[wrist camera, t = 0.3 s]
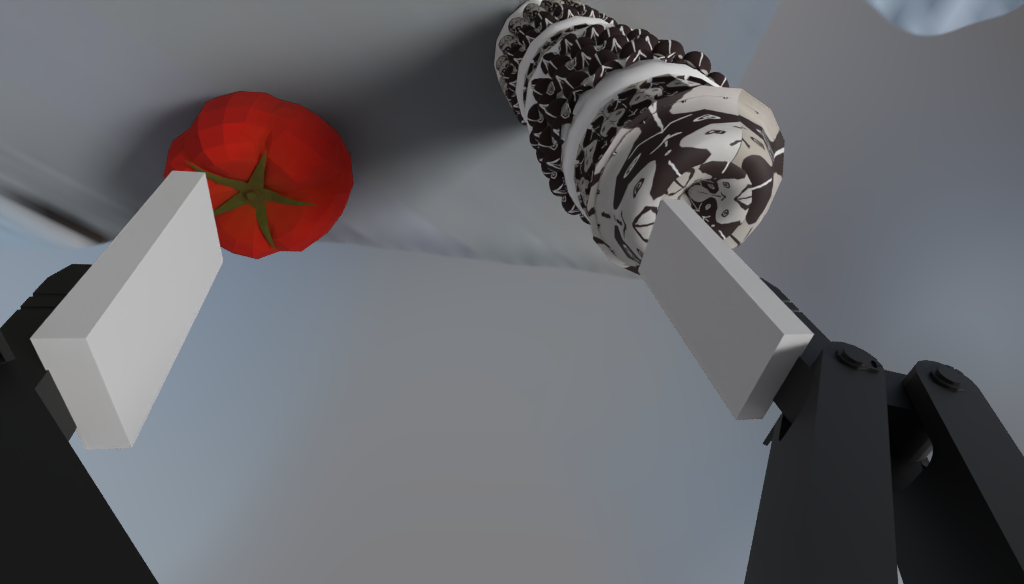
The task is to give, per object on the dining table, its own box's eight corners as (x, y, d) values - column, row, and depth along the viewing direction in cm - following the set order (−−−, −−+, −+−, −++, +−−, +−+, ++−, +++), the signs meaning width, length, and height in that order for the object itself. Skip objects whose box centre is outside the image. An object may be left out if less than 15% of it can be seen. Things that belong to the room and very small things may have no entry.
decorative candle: (510, -33, 36) (652, 41, 16) (628, 12, 39) (873, 122, 19) (473, 100, 40) (547, 286, 20) (580, 131, 43) (736, 320, 23)
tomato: (372, 200, 44) (367, 258, 37) (224, 225, 43) (189, 289, 36) (333, 65, 37) (318, 103, 30) (158, 91, 36) (100, 136, 29)
